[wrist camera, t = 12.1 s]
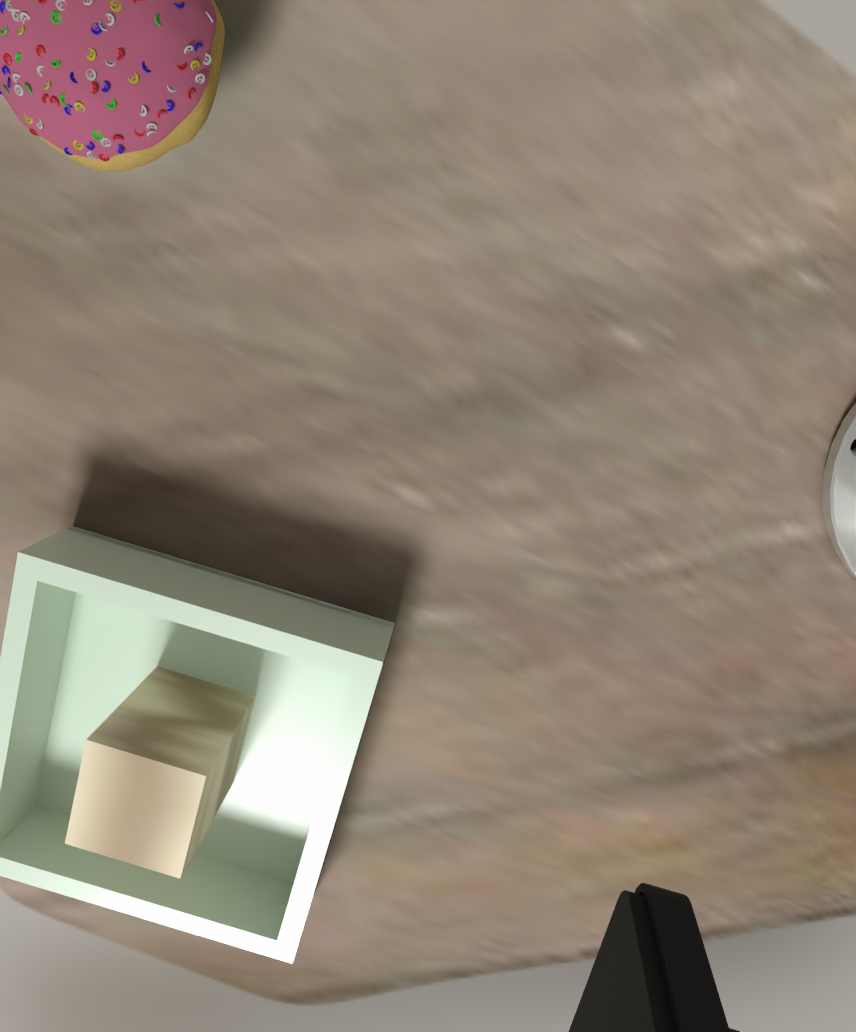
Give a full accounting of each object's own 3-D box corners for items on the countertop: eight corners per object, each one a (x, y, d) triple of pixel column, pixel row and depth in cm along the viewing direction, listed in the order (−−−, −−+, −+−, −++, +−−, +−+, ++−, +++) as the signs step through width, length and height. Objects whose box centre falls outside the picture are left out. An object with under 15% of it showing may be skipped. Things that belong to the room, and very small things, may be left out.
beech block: (255, 696, 38) (206, 776, 31) (232, 783, 39) (180, 878, 33) (157, 666, 38) (86, 739, 31) (137, 754, 39) (64, 843, 33)
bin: (395, 622, 37) (383, 662, 33) (312, 896, 41) (292, 964, 37) (72, 525, 37) (18, 551, 33) (20, 808, 41) (-35, 865, 37)
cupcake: (35, -23, 32) (-222, -225, 20) (237, -56, 31) (91, -285, 20) (79, 201, 34) (-133, 133, 22) (271, 175, 33) (156, 90, 21)
